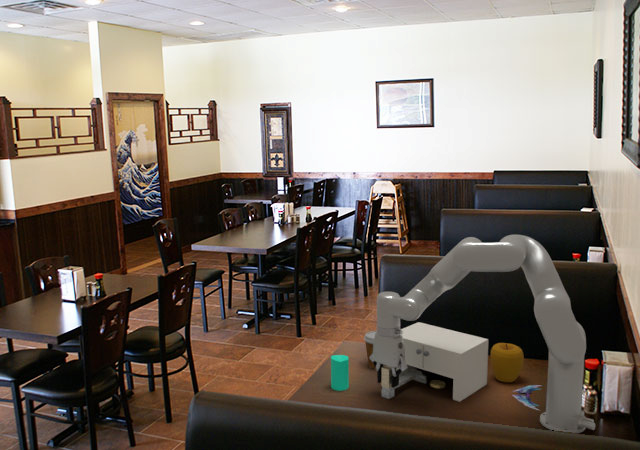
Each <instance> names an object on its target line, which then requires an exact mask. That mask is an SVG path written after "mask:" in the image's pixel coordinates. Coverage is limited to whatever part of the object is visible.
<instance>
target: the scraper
mask: <svg viewBox="0 0 640 450" xmlns="http://www.w3.org/2000/svg"><path fill="white" fill-rule="evenodd" d="M391 376H393V373H392V368H391V367H390V366H387V365H385V366H384V367H382V382H381V387H382V389H381V397H382V398H384V399H387V400H390V399H392V398H394V397H395V389H396V388H399V387H401V386H403V385H404V384H407V383H408V382H410V381H416V382H419V383H423V384H427V383H428V376H427V375H425V374H423V371H421V370H418V369H414V370H412V371H408V373H407V374H405V375H403V376H401V377H399V385H398V386H396V387H394V388H392V387H391Z"/></svg>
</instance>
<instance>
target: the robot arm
mask: <svg viewBox="0 0 640 450" xmlns="http://www.w3.org/2000/svg"><path fill="white" fill-rule="evenodd" d="M519 268H521V269H522V271H523V273H524V275H525V279H526V281H527V283H528V285H529V288H530V289H531V293H532V296H533V298H534V305H533V312H534V317H535V319H536V322H537V324H538V327H539V329H540V331H541V332H540V333H542V336H543V339H544V340H545V341H544V342H545V343H546V345H547V349H548V364H547V378H546V379H547V381H546V398H545V399H546V400H545V401H546V402H545V411H544V412H542V413H541V414H540V416H539V422H540V423H541V425H542V426H543V427H545V428H546V429H548V430H550V431H552V430H554V431H553V432H555V431H563V432H572V433H577V434H580V433H582V432H584V431H585V430H586V429H588V430H592V431H594V430H595V429H596V423H595V420H594V419H593V418H588V417H586V416H585V411H584V410H582V402H583V401H582V400H583V399H582V397H583V384H584V383H583V381H584V371H585V369H584V368H585V354H586V353H587V352H586V350H587V337H586V332H585V329H584V328H583V326H582V324H580V323H579V322H578V321H577V320H576V317H575V314H574V313H573V310H572V305H571V298H570V297H569V294H568V293H567V291H566V289H565V287H564V285H563V282H562V280H561V277H560V276H559V273H558V271H557V269H556V267H555V264H554V263H553V260H552V258H551V256H550V254H549V253H548V251H547V249H545V247H544V246H543V245H542V244H541V243H540V242H539V241H537V240H535V239H534V238H532V237H530V236H528V235H522V234H509V235H505V236H504V237H502V238H501V239H500V240H499V241H495V242H492V241H491V242H482V240H480V239H479V238H477V237H474V236H469V237H465V238H464V239H461V241H459V242H458V243H457V244H456V245H455V246H454V247H453V248H452V249H450V251H449V252H448V253H447V254H446V255H445V256H443V257H442V258H441V259H440V260H439V261H438V262H437V263H436V264H435V265H434V266H433V267H432V268H431V270H430V271H429V272H428V274H427V275H426V276H424V277H423V279H421V281H419V282H418V283H417V284H415V286H414V287H413V288H411V290H409V292H407V294H405V295H404V296H400V294H399V293H398V292H395V291H380V292H379V293H378V294H377V297H376V331H377V332H376V333H375V337H374V344H373V353H372V354H371V356H370V357H369V358H370V360H371V361H372V362H373V364H374V366H375V367H376V369H375V370H376V371H377V373H376V376H377V383H378V384H382V367H384V365H385V366H386V365H387V366H390V367H391V368H392V373H393V376H391V387H392V388H394V387H396V386H398V385H399V374H401V373H402V372H403V371H404V370H406V369H408V367H407V365H406V363H405V349H404V341H403V337H402V333H403V331H402V330H401V320H405V321H408V322H409V321H410V322H412V321H416V320H417V319H419V318H420V317H421V315H422V314H423V312H425V310H426V309H427V308H428V307H429V306H430V305H431V304H433V302H435V301H436V300H437V298H439V297H440V296H441V295H442V294H443V293H446V291H448V290H451V289H453V288H454V287H455V286H456V285H458V283H460V281H462V280H463V279H464V278H465V277H466V276H468V274H469V273H471V272H475V273H476V272H477V273H479V272H480V273H482V272H483V273H489V272H490V273H497V272H498V273H506V272H508V273H509V272H513V271H516V270H518V269H519ZM400 334H401V335H400ZM399 364H400V365H401V368H400V366H399Z"/></svg>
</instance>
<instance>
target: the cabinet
mask: <svg viewBox="0 0 640 450" xmlns="http://www.w3.org/2000/svg"><path fill="white" fill-rule="evenodd" d="M400 330H402V331H403V333H402V337H403V341H404V349H405V363H406V365H407V367H408V369H406V370H404V371H403V372H402V373H401V374H399V377H401V376H403V375H405V374H407V373H408V371H412V370H414V369H415V370H418V369H420V370H423V371H426V372H430V373H433V374H436V375H439V376H443V377H447V378H450V379H451V380H452V379H453V380H452V381H453V382H452V383H453V385H452V400H453V401H456V402H459V403H460V402H462V401H463V400H465V399H467V398H468V397H469V396H472V395H473V394H474V393H476V392H477V391H478V390H480V389H482V388H484V387H485V386H487V384H488V361H489V338H484V337H481V336H477V335H473V334H468V333H464V332H459V331H455V330H452V329H447V328H444V327H441V326H436V325H431V324H428V323H424V322H418V321H417V322H416V323H413V324H411V325H408V326H406V327H403V328H400ZM400 335H401V334H400ZM399 366H400V368H401V365H400V364H399Z"/></svg>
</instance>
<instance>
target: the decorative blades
mask: <svg viewBox="0 0 640 450" xmlns="http://www.w3.org/2000/svg"><path fill="white" fill-rule="evenodd" d="M539 387H543V384H542V385H540V384H539V385H538V384H533V385H526V386H524V387H518V389H516V390H515V389H514V390H512V392H513V393H517V394H511V396H512V397H514V398H515V399H516V400H517V401H518V402H520V403H522V404H523V405H524V406H525V407H528V408H530V409H533V410H536V411H541V410H540V409H538V408H536V407H540V405H539V404H537V403H534V402H533V401H531V400H532V398H531V397H530V394H531V395H532V394H533V392H534V391H539V390H541V388H539Z"/></svg>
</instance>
